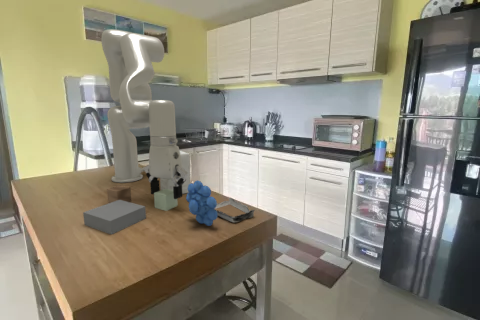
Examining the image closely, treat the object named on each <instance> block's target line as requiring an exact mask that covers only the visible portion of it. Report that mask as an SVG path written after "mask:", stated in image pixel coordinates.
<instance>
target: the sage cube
mask: <svg viewBox="0 0 480 320" xmlns="http://www.w3.org/2000/svg"><path fill="white" fill-rule="evenodd" d="M153 198H154V208H155V209H158V210H162V211H165V212H167V211H170V210H172V209H174V208H176V207H178V199H174V193H173V190H169V189H164V190H161V189H160V191H158V192H155V193H154V194H153Z"/></svg>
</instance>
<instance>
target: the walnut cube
mask: <svg viewBox="0 0 480 320" xmlns="http://www.w3.org/2000/svg"><path fill="white" fill-rule="evenodd" d="M131 190H132V189H131V187H130V186H125V185H123V184H121V185H116V186H112V187H110V188H106V192H107V202H108V203H107V204H109V203H111V202H114V201H117V200H123V201H126V202H130V203H132V193H131Z"/></svg>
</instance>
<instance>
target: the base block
mask: <svg viewBox="0 0 480 320" xmlns="http://www.w3.org/2000/svg"><path fill="white" fill-rule="evenodd" d="M146 211H147V210H146V206H145V205H141V204H137V203H134V202H126V201H123V200H117V201H114V202H111V203H106V204H104V205H103V204H102V205H100V206H97V207H94V208H92V209H88V210H86V211H83V212H82V215H83V222H84V224H83V225H84V226H87V227H88V228H91V229H94V230H97V231H100V232H103V233H105V234H108V235H114V234H116V233H118V232H120V231H122V230H124V229H126V228H129V227H131V226H133V225H135V224H137V223H140V222H142V221H143V220H145V219H147V212H146Z"/></svg>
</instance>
